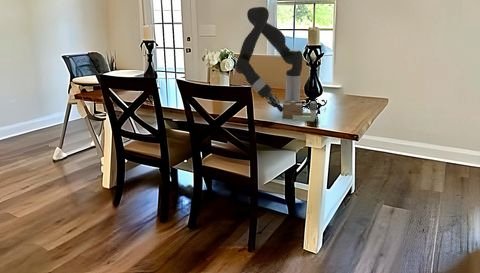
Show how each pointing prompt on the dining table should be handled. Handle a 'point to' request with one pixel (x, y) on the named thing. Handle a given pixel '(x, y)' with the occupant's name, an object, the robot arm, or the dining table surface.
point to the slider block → (292, 109)
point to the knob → (313, 105)
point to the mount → (306, 116)
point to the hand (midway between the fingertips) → (282, 110)
